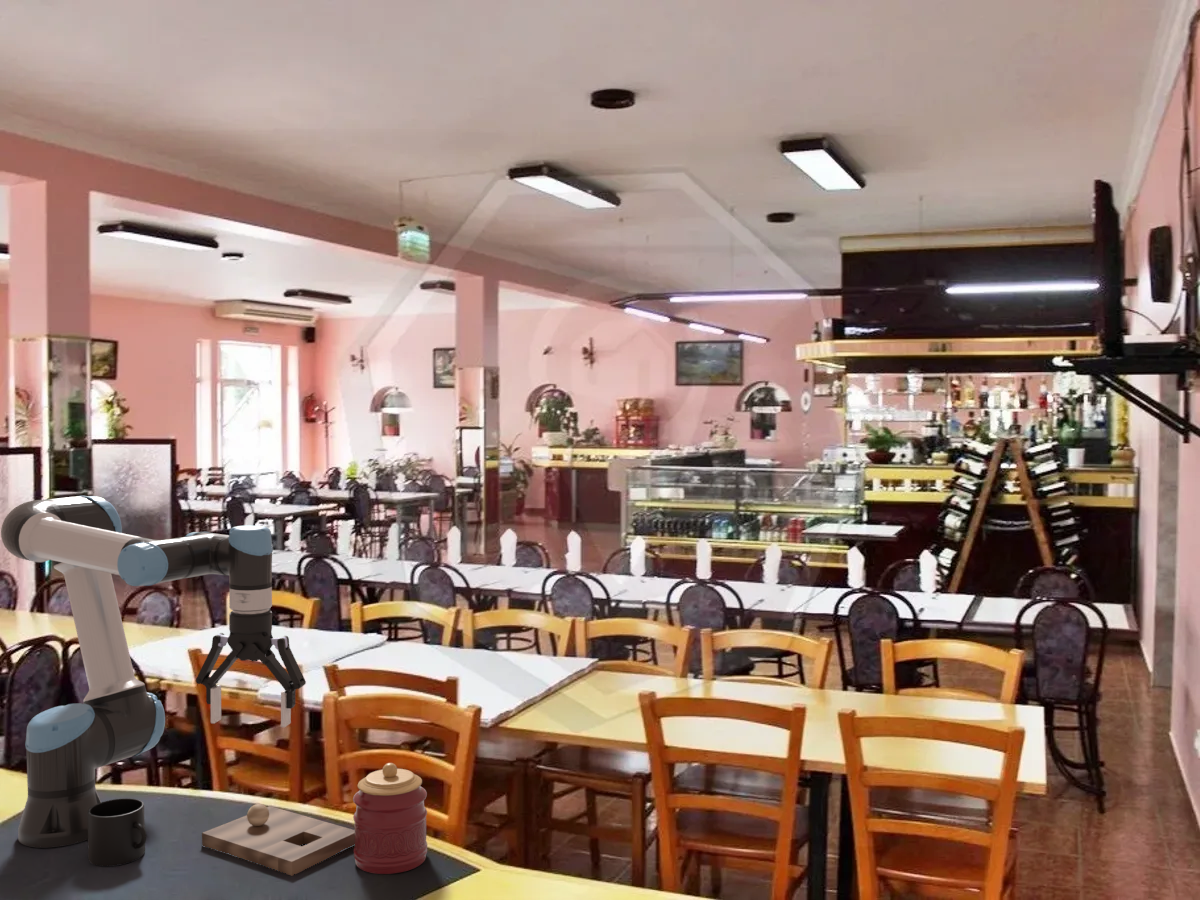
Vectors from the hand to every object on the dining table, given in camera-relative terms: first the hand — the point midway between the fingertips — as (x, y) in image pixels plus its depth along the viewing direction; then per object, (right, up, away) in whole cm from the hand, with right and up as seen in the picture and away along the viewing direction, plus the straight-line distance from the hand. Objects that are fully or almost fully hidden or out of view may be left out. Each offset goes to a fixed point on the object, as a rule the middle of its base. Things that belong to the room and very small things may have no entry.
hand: (250, 723), depth 205 cm
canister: (+27, -23, -7) cm, 36 cm away
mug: (-22, -23, -5) cm, 32 cm away
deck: (+6, -23, 0) cm, 23 cm away
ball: (0, -18, +3) cm, 18 cm away
